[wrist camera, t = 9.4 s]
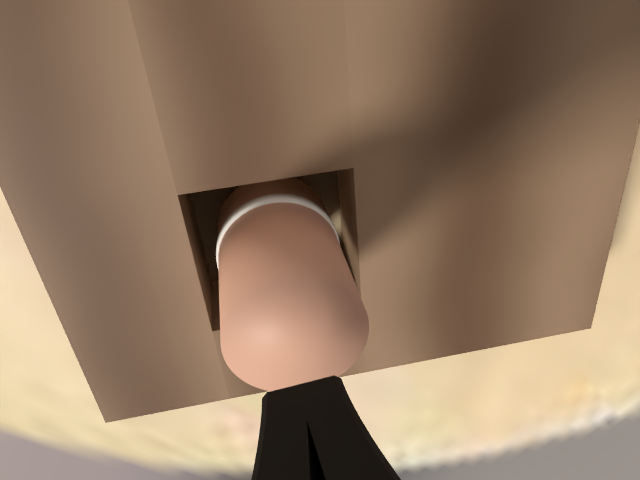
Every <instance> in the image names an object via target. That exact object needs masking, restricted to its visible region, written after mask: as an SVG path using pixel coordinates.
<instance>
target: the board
mask: <svg viewBox="0 0 640 480" xmlns="http://www.w3.org/2000/svg"><path fill="white" fill-rule="evenodd" d="M639 123H640V0H0V187H1V189H2V192H3V194H4V196H5V198H6V201H7V203H8V205H9V207H10V210H11V212H12V214H13V216H14V219H15V221H16V223H17V225H18V227H19V230H20V232H21V234H22V236H23V239H24V241H25V243H26V245H27V248H28V250H29V252H30V254H31V257H32V259H33V261H34V263H35V265H36V268H37V270H38V272H39V274H40V277H41V279H42V281H43V283H44V286H45V288H46V290H47V292H48V295H49V297H50V299H51V301H52V303H53V306H54V308H55V310H56V312H57V315H58V317H59V319H60V321H61V324H62V326H63V328H64V330H65V333H66V335H67V337H68V339H69V341H70V344H71V346H72V348H73V350H74V353H75V355H76V357H77V359H78V362H79V364H80V366H81V368H82V371H83V373H84V375H85V377H86V380H87V382H88V384H89V386H90V388H91V391H92V393H93V395H94V397H95V400H96V402H97V404H98V406H99V409H100V411H101V413H102V415H103V418H104V420H105V422H106V423H107V422H112V421H117V420H122V419H127V418H132V417H138V416H143V415H148V414H153V413H158V412H163V411H168V410H173V409H179V408H184V407H189V406H194V405H199V404H204V403H209V402H215V401H220V400H225V399H230V398H235V397H240V396H245V395H251V394H256V393H261V392H266V391H267V390H263V389H259V388H257V387H254V386H251V385H250V384H248V383H246V382H244V381H243V380H241V379H240V378H238V377H237V376H236V375H235V374H234V373H233V372H232V371H231V369H230V368H229V367H228V366H227V364H226V362H225V360H224V357H223V354H222V351H221V343H220V306H219V280H216V281H212V280H211V275H210V271H209V267H208V263H207V259H206V255H205V251H204V246H203V242H202V238H201V234H200V230H199V226H198V221H197V217H196V213H195V209H194V205H193V201H192V196H191V193H194V192H201V191H207V190H214V189H220V188H227V187H233V186H239V185H246V184H252V183H259V182H265V181H272V180H278V179H285V178H291V177H298V176H304V175H310V174H317V173H323V172H330V171H336V170H337V175H338V188H339V201H340V214H341V227H342V240H343V253H344V257H345V259H346V262H347V264H348V267H349V269H350V272H351V274H352V277H353V279H354V282H355V284H356V287H357V289H358V292H359V294H360V297H361V299H362V302H363V304H364V307H365V309H366V312H367V315H368V320H369V335H368V340H367V342H366V345H365V348H364V350H363V352H362V353H361V355H360V356H359V358H358V359H357V361H356V362H355V363H354V364H353V365H352V366H351V367H350V368H349V369H348V370H347V371H346V372H344V373H343V374H342V375H340V376H339V377H343V376H348V375H353V374H358V373H364V372H369V371H374V370H379V369H384V368H389V367H394V366H399V365H405V364H410V363H415V362H420V361H425V360H430V359H435V358H441V357H446V356H451V355H456V354H461V353H466V352H471V351H477V350H482V349H487V348H492V347H497V346H502V345H507V344H512V343H518V342H523V341H528V340H533V339H538V338H543V337H548V336H554V335H559V334H564V333H569V332H574V331H579V330H584V329H589V328H591V325H592V321H593V317H594V313H595V309H596V304H597V300H598V296H599V292H600V287H601V283H602V279H603V275H604V271H605V266H606V262H607V258H608V254H609V249H610V245H611V241H612V237H613V232H614V228H615V224H616V220H617V216H618V211H619V207H620V203H621V199H622V194H623V190H624V186H625V182H626V178H627V173H628V169H629V165H630V161H631V156H632V152H633V148H634V144H635V140H636V135H637V131H638V127H639Z"/></svg>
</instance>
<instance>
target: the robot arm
mask: <svg viewBox="0 0 640 480" xmlns="http://www.w3.org/2000/svg"><path fill="white" fill-rule="evenodd" d="M251 480H401V479H400V478H399V476H398V475H397V474H396V472H395V471H394V469H393V468H392V467H391V465H390V464H389V462H388V461H387V459H386V458H385V457H384V455H383V454H382V452H381V451H380V449H379V448H378V446H377V445H376V443H375V442H374V440H373V438H372V437H371V435H370V434H369V432H368V430H367V429H366V427H365V425H364V424H363V422H362V420H361V419H360V417H359V415H358V413H357V411H356V410H355V408H354V406H353V404H352V402H351V400H350V398H349V396H348V394H347V392H346V390H345V387H344V385H343V382H342V379H341V378H339V377H337V376H335V375H333V376H329V377H325V378H322V379H318V380H314V381H310V382H306V383H302V384H298V385H294V386H290V387H286V388H282V389H278V390H274V391H270V392H267V393H266V394H265V396H264V397H263V398H262V414H261V425H260V433H259V440H258V447H257V453H256V459H255V464H254V470H253V475H252V479H251Z"/></svg>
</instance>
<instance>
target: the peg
mask: <svg viewBox="0 0 640 480" xmlns="http://www.w3.org/2000/svg"><path fill="white" fill-rule="evenodd" d="M217 233H218V238H217V243H216V261H217V268H218V271H219V306H220V343H221V351H222V354H223V357H224V360H225V362H226V364H227V366H228V367H229V368H230V369H231V371H232V372H233V373H234V374H235V375H236V376H237V377H238V378H240V379H241V380H243V381H244V382H246V383H248V384H250V385H251V386H254V387H257V388H259V389H263V390H267V391H274V390H278V389H282V388H286V387H290V386H294V385H298V384H302V383H306V382H310V381H314V380H318V379H322V378H325V377H329V376H333V375H335V376H337V377H339V376H340V375H342V374H343V373H344V372H346V371H347V370H348V369H349V368H350V367H351V366H352V365H353V364H354V363H355V362H356V361H357V359H358V358H359V356H360V355H361V353H362V352H363V350H364V348H365V345H366V342H367V340H368V335H369V320H368V315H367V312H366V309H365V307H364V304H363V302H362V299H361V297H360V294H359V292H358V289H357V287H356V284H355V282H354V279H353V277H352V274H351V272H350V269H349V267H348V264H347V262H346V259H345V257H344V254H343V252H342V249H341V247H340V242H339V237H338V234H337V231H336V229H335V227H334V224H333V222H332V220H331V219H330V217H329V216H328V214H327V211H326V209H325V206H324V204H323V202H322V200H321V198H320V197H319V195H318V194H317V193H316V192H315V191H314V190H313V189H312V188H311V187H310V186H308V185H307V184H306V183H304V182H302V181H300V180H298V179H295V178H292V177H291V178H285V179H278V180H272V181H265V182H259V183H252V184H246V185H240V186H239V187H237V188H236V189H235V190H234V191H233V192H232V193H231V194H230V195H229V196H228V197H227V199H226V200H225V201H224V203H223V205H222V207H221V209H220V212H219V216H218V221H217Z"/></svg>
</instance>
